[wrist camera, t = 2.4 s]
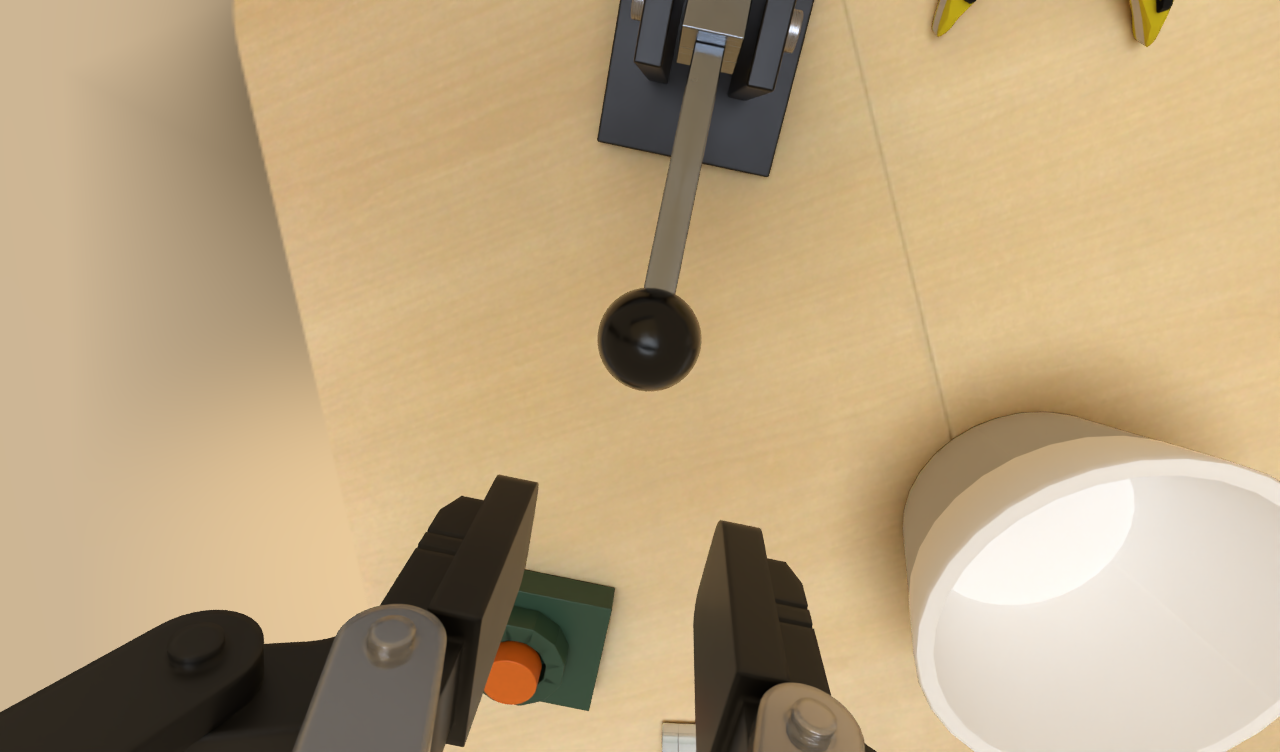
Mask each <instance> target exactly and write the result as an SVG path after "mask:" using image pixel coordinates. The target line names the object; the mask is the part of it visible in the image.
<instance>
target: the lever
mask: <svg viewBox="0 0 1280 752" xmlns="http://www.w3.org/2000/svg"><path fill="white" fill-rule="evenodd" d="M751 5H752V0H687V2H686V7H685V12H684V16H683V21H682V26H681V33H680V39H679V46H678V52H677V59H676V62H677V63H681V64H686V65H690V68H689V72H688V77H687V82H686V87H685V92H684V96H683V101H682V106H681V111H680V116H679V121H678V125H677V130H676V135H675V140H674V145H673V150H672V154H671V159H670V164H669V169H668V174H667V179H666V183H665V188H664V193H663V198H662V203H661V208H660V212H659V217H658V222H657V227H656V232H655V236H654V241H653V246H652V251H651V256H650V261H649V265H648V270H647V275H646V280H645V285H644V288H639V289H635V290H632V291H630V292H627V293H625V294H624V295H622V296H620V297H619V298H618V299H616V300H615V301H614V302H613V303H612V304H611V305H610V306H609V308H608V309H607V310H606V312H605V314H604V315H603V317H602V320H601V322H600V326H599V330H598V350H599V354H600V357H601V359H602V362H603V364H604V365H605V367H606V369H607V370H608V371H609V373H610V374H611V375H612V376H613V377H614V378H615V379H616V380H618V381H619V382H620V383H622V384H624V385H625V386H628V387H630V388H632V389H636V390H640V391H659V390H663V389H667V388H669V387H672V386H673V385H675V384H677V383H679V382H680V381H681V380H682V379H684V378H685V377H686V376H687V375H688V374H689V372H690V371H691V370H692V368H693V367H694V365H695V363H696V361H697V359H698V356H699V353H700V349H701V330H700V326H699V322H698V320H697V318H696V316H695V314H694V312H693V310H692V309H691V308H690V306H689V305H688V304H687V303H686V302H685V301H684V300H683V299H681V298H680V297H679V296H677V295H675V293H676V288H677V284H678V279H679V274H680V269H681V264H682V259H683V254H684V249H685V244H686V239H687V234H688V229H689V225H690V220H691V215H692V210H693V205H694V200H695V195H696V190H697V185H698V180H699V175H700V171H701V166H702V161H703V156H704V151H705V146H706V141H707V136H708V131H709V126H710V121H711V117H712V112H713V107H714V102H715V97H716V92H717V87H718V82H719V77H720V72H723V73H728V74H733V73H734V70H735V67H736V64H737V61H738V58H739V55H740V51H741V48H742V45H743V42H744V39H745V34H746V30H747V25H748V20H749V15H750V10H751Z"/></svg>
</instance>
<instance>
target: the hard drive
mask: <svg viewBox="0 0 1280 752" xmlns="http://www.w3.org/2000/svg"><path fill="white" fill-rule="evenodd" d="M662 752H696V724H677V723H662Z"/></svg>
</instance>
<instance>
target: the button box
mask: <svg viewBox="0 0 1280 752" xmlns="http://www.w3.org/2000/svg"><path fill="white" fill-rule="evenodd" d="M614 591H615V588H612V587H608V586H603V585H598V584H593V583H588V582H583V581H578V580H573V579H568V578H563V577H558V576H553V575H548V574H543V573H538V572H533V571H528V570H524V574H523V578H522V581H521V585H520V588H519V591H518V594H517V597H516V600H515V603H514V605H513V608H512V611H511V614H510V617H509V620H508V623H507V625H506V628H505V631H504V634H503V637H502V640H501V642H505V641H516V642H521V643H524V644H527V645H529V646H530V647H532V648H533V649H534V650H535V651H536V652H537V653H538V655H539V657H540V659H541V663H542V669H541V673H540V676H539V680H538V684H537V688H536V691H535V693H534V695H533V696H532V697H531V698H530V699H529V700H527V701H525V702H523V703H520V704H513V705H518V706H520V705H526V704H530V703H535V702H539V701H541V702H546V703H551V704H556V705H561V706H566V707H571V708H576V709H581V710H586V711H589V708H590V704H591V699H592V695H593V691H594V686H595V682H596V677H597V673H598V669H599V664H600V660H601V655H602V651H603V646H604V642H605V638H606V633H607V629H608V624H609V620H610V616H611V611H612V605H613V598H614ZM483 693H484V694H485V695H487V694H486V693H485V692H484V691H483ZM487 696H488V695H487ZM488 697H489V696H488ZM491 699H492V698H491ZM492 700H493V699H492Z"/></svg>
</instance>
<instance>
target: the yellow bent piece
mask: <svg viewBox="0 0 1280 752" xmlns="http://www.w3.org/2000/svg"><path fill="white" fill-rule="evenodd" d="M975 1H976V0H939V3H938V6H937V9H936V12H935V16H934V19H933V23H932V30H933V31H934V33H935V34H936V35H937V36H938V37H939V36H942V35H943V34H945V33H946V32H947V31H948V30H949V29H950V28H951V27H952V26H953V25H954V23H955V22H956V20H957V19H958V18H959V17H960V16H961V15H962V14H963V13H964V12H965V11H966V10H967V9H968V8H969V7H970V6H971V5H972V4H973V3H974V2H975ZM1173 1H1174V0H1129V2H1130V7H1131V12H1132V30H1133V35H1134V37H1135V39H1136V40H1137V41H1138V42H1140V43H1141V44H1143V45H1144V46H1146V47H1148V46H1149V45H1151V44H1152V43H1153V42H1154V40H1155V39H1156V37H1157V35H1158V33H1159V31H1160V29H1161V27H1162V25H1163V23H1164V22H1165V20H1166V18H1167V16H1168V13H1169V11H1170V8H1171V6H1172V4H1173Z"/></svg>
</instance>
